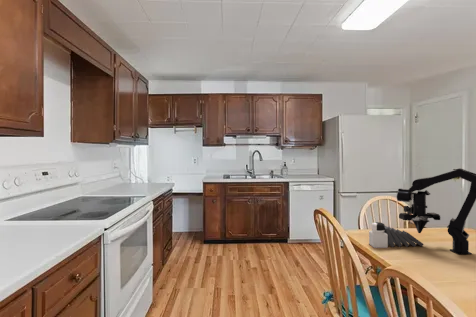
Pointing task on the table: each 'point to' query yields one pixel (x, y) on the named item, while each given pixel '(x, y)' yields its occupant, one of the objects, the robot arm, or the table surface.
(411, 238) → the domino
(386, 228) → the domino
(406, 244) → the domino
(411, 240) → the domino
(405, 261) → the table surface
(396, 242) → the domino
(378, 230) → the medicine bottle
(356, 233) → the table surface
